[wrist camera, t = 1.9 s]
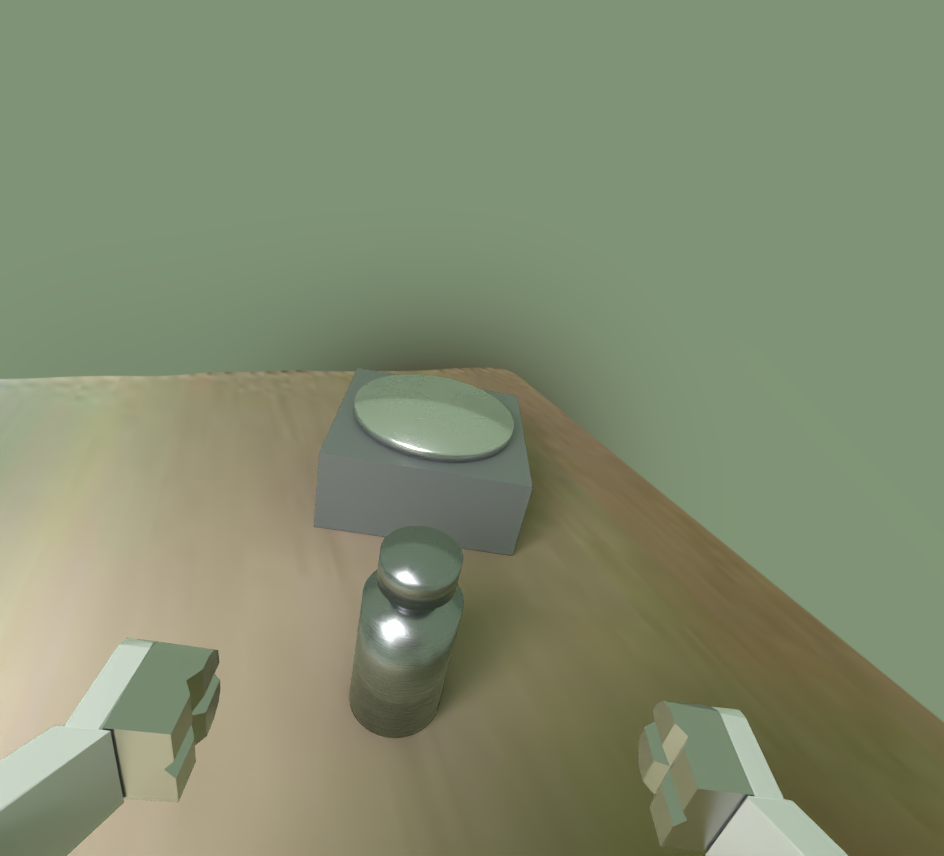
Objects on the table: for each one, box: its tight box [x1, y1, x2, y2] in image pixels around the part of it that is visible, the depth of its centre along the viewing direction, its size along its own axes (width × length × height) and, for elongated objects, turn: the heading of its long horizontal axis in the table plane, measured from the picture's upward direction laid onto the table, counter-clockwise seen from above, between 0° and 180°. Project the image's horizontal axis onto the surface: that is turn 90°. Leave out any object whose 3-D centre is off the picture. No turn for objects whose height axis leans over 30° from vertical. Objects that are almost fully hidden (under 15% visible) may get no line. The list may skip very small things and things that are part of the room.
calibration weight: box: [349, 526, 464, 738], centre depth 27 cm, size 5×5×10 cm
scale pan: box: [354, 374, 514, 462], centre depth 43 cm, size 12×12×1 cm
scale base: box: [314, 368, 533, 555], centre depth 45 cm, size 14×14×6 cm
